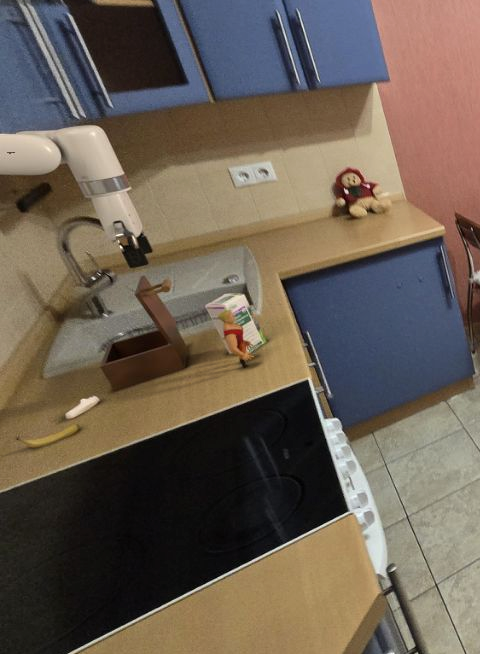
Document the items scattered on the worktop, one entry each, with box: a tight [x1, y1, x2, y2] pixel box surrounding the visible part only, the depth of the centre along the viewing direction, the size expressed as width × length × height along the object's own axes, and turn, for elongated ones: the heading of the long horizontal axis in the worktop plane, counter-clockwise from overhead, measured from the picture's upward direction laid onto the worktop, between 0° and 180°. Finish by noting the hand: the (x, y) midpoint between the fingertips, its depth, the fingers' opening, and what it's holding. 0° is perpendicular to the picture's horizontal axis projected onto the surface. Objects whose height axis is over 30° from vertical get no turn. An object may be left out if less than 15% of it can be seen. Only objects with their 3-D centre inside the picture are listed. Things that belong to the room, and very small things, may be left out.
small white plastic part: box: [65, 395, 101, 420], centre depth 113 cm, size 4×6×3 cm, turn 129°
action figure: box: [218, 310, 255, 369], centre depth 123 cm, size 10×4×15 cm, turn 35°
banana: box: [14, 424, 80, 449], centre depth 104 cm, size 8×2×4 cm, turn 133°
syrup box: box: [204, 292, 267, 355], centre depth 129 cm, size 6×6×14 cm
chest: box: [99, 324, 189, 392], centre depth 126 cm, size 13×13×7 cm
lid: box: [134, 275, 177, 344], centre depth 125 cm, size 13×13×5 cm
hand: (142, 259), depth 120 cm, fingers open, 9 cm apart
